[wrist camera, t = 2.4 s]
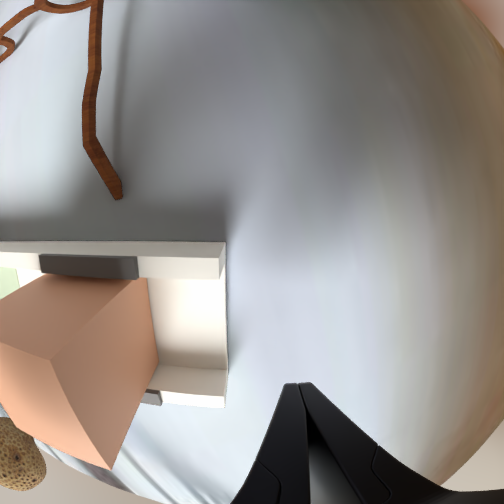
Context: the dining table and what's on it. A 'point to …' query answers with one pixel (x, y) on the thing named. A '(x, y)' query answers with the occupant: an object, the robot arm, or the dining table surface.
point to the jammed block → (77, 361)
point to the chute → (151, 303)
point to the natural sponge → (19, 458)
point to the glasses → (92, 80)
